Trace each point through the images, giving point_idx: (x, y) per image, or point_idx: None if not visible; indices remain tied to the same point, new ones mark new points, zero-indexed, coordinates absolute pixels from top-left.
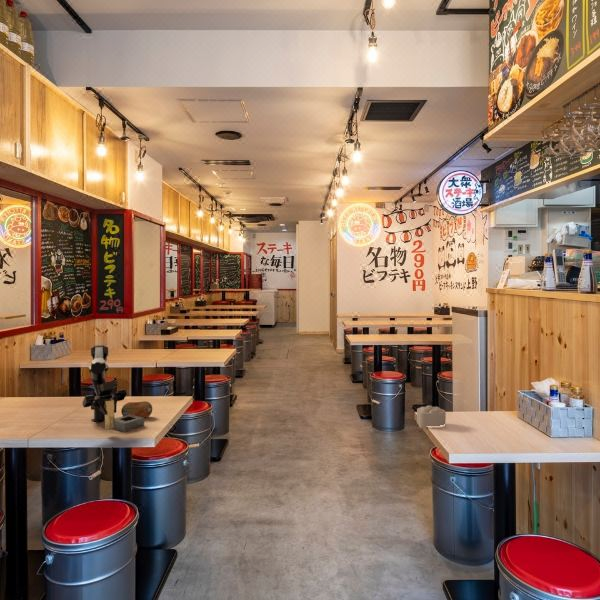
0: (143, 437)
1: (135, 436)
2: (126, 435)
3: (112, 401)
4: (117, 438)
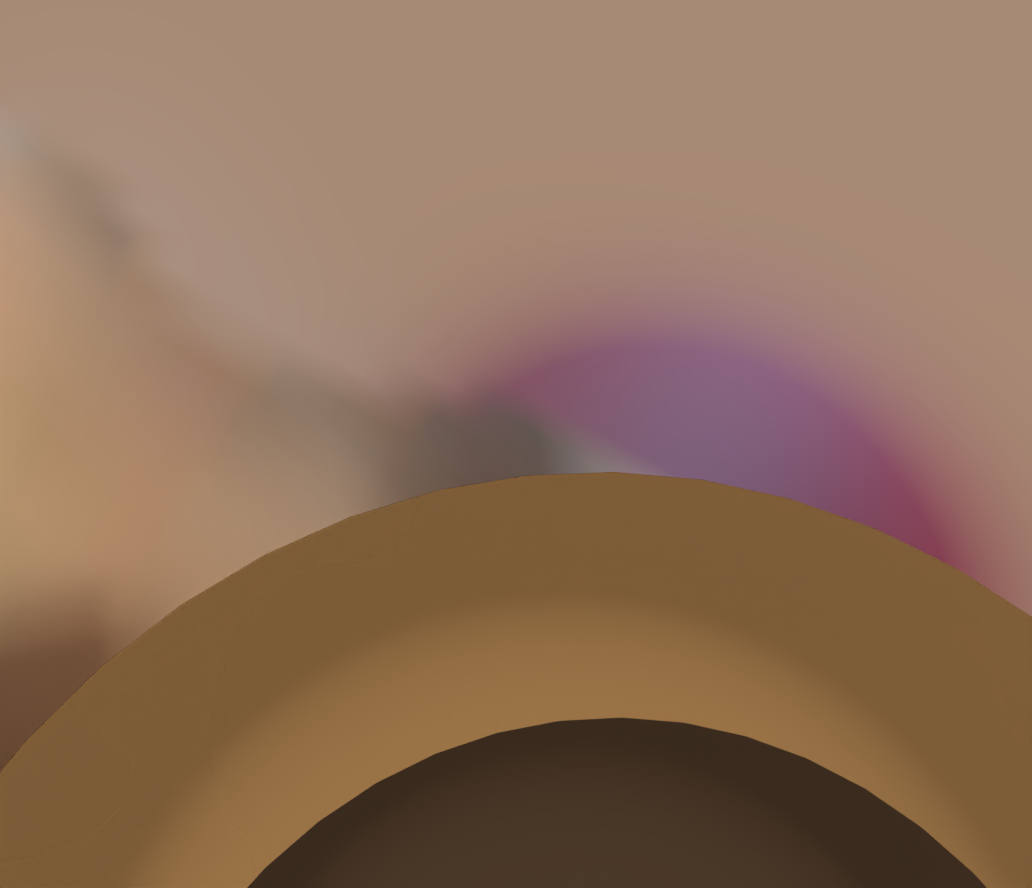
0: (9, 193)
1: (90, 356)
2: (198, 554)
3: (362, 548)
4: (434, 490)
